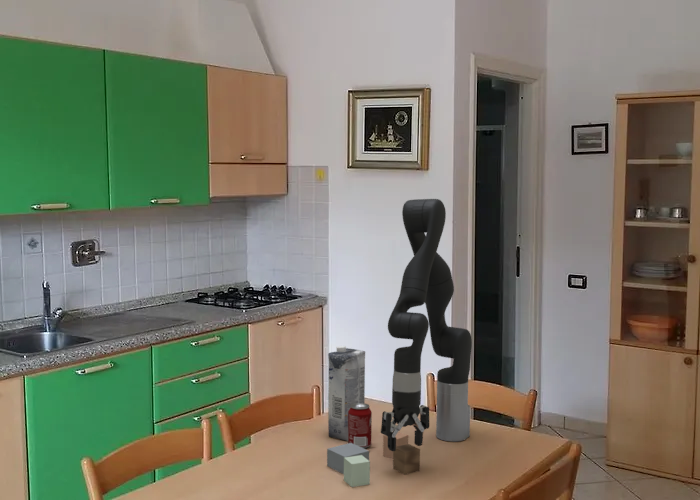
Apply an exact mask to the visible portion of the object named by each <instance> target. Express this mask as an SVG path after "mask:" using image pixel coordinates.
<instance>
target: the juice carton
mask: <svg viewBox="0 0 700 500" xmlns="http://www.w3.org/2000/svg"><path fill="white" fill-rule="evenodd" d="M327 353H328V352H327ZM327 356H328V397H327V398H328V399H327V400H328V403H327V404H328V406H327V408H328V417H327V419H328V420H327V423H328V426H327V427H328V430H327V431H328V437H329V438H332V439H338V440H342V441H345V442H348V411H349V409H350V408H351V407H350V405H351V404H354V403H365V401H366V400H365V394H366V393H365V391H366V390H365V387H366V380H365V378H366V377H365V376H366V351H365V350H361V349H355V348H348V347H347V346H346V345H339V346H336V351H331V352H329V353H328V354H327Z"/></svg>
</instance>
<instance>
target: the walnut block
mask: <svg viewBox="0 0 700 500" xmlns="http://www.w3.org/2000/svg"><path fill="white" fill-rule="evenodd" d="M392 461H393V462H392V465H393V466H392V467H393V468H392V469H393V470H395V471H396V472H398V473H400V474H403V475H404V476H405V475H409V474H413V473H417V472H420V469H421V449H420V448H419V447H417V446H414V445H412V444H410V443H408V444H405V445H401V446H396V451H393V459H392Z"/></svg>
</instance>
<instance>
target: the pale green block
mask: <svg viewBox="0 0 700 500" xmlns="http://www.w3.org/2000/svg"><path fill="white" fill-rule="evenodd" d="M370 478H371V461H370V459H369V460H367V459H366V458H365V457H364V456H362V455H359V456H352V457H345V458H344V474H343V481H344V482H345V483H346V484H348V485H349V486H350V487H351V488H355V487H362V486H369V485H370V483H371V482H370V481H371V479H370Z"/></svg>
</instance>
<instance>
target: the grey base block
mask: <svg viewBox="0 0 700 500" xmlns="http://www.w3.org/2000/svg"><path fill="white" fill-rule="evenodd" d="M359 455H362V456H364V457H365V458H366V459H367V460H369V461H370V450H368V449H367V448H365V449H364V448H362V447H359V446H357V445H355V444H353V443H348V442H347V443H343V444H340V445H337V446H332V447H328V448H326V466H327V467H329V468H330V469H332V470H334V471H335V472H338V473H339V474H343V475H344V458H345V457H352V456H359Z"/></svg>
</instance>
